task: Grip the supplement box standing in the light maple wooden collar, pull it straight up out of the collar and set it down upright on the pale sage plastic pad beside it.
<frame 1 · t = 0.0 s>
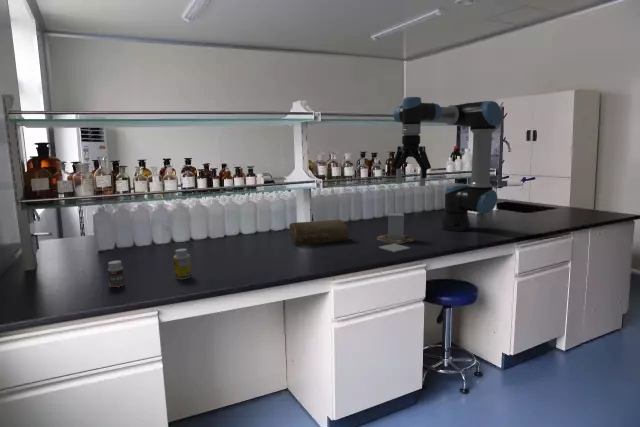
hand: (410, 184, 184), 28 cm above the table, tool pointing down, fingers open, 13 cm apart
supplement box: (395, 240, 203), resting in wooden collar
wooden collar: (395, 240, 203), on the table
sage pad: (394, 248, 188), on the table
supplement bottle: (183, 278, 152), on the table
core sample: (318, 242, 203), on the table
pill bottle: (117, 286, 145), on the table
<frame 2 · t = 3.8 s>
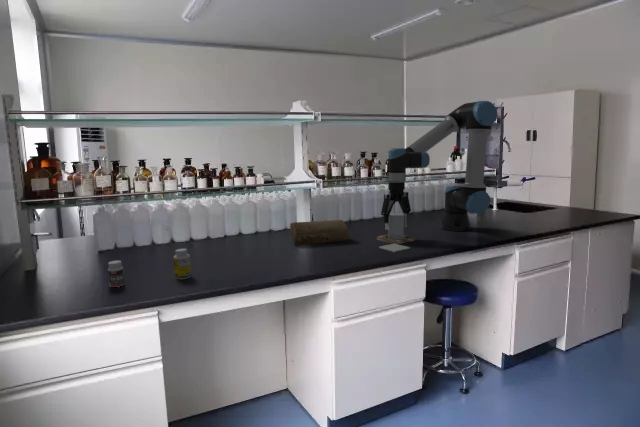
hand: (395, 228, 202), 6 cm above the table, tool pointing down, fingers closed on supplement box, 10 cm apart
supplement box: (395, 240, 203), resting in wooden collar, touching gripper
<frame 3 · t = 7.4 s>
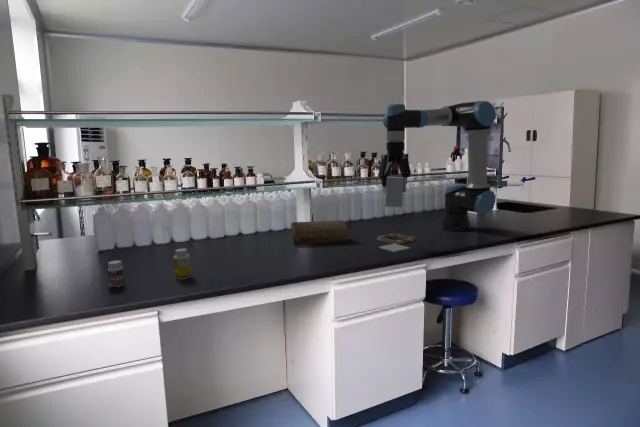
hand: (394, 192, 186), 24 cm above the table, tool pointing down, fingers closed on supplement box, 10 cm apart
supplement box: (394, 206, 187), point 18 cm above the table, touching gripper
when the fingers open (8 cm above the table, at t = 11.5 s): supplement box drops 2 cm, resting on sage pad.
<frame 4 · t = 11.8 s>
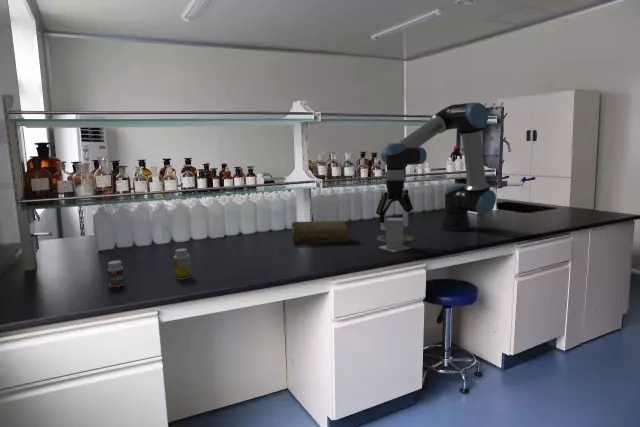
hand: (394, 228, 186), 9 cm above the table, tool pointing down, fingers open, 13 cm apart
supplement box: (394, 247, 188), resting on sage pad
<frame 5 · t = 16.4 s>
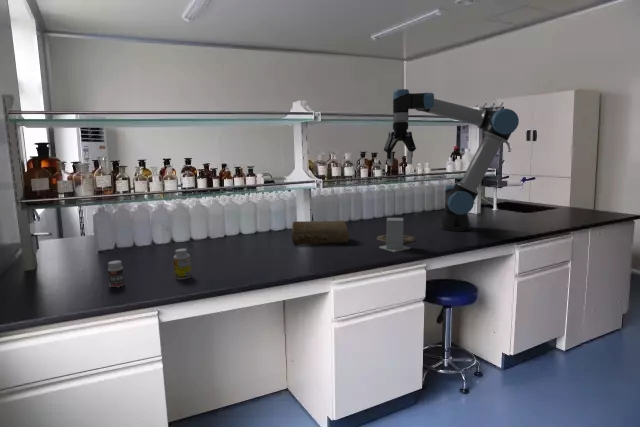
hand: (399, 165, 214), 35 cm above the table, tool pointing down, fingers open, 13 cm apart
at the end: supplement box 0.2 cm off-centre on the sage pad, point 0.3 cm above the sage pad's base; supplement box tilted 0°; the gripper is holding nothing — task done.
